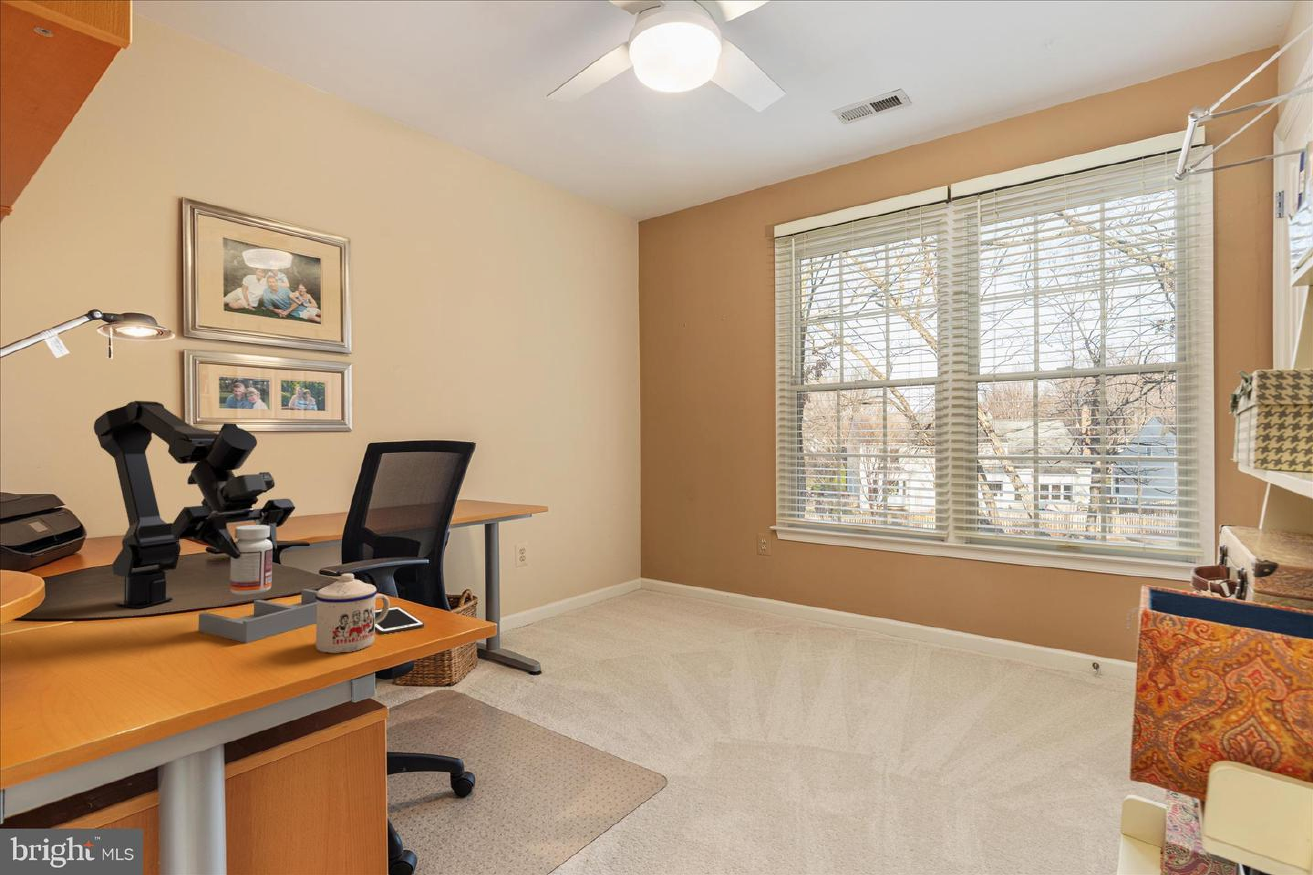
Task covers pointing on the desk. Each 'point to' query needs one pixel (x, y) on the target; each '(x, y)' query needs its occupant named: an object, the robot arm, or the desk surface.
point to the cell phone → (397, 621)
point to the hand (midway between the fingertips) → (257, 554)
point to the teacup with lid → (347, 615)
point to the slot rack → (263, 619)
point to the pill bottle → (252, 560)
